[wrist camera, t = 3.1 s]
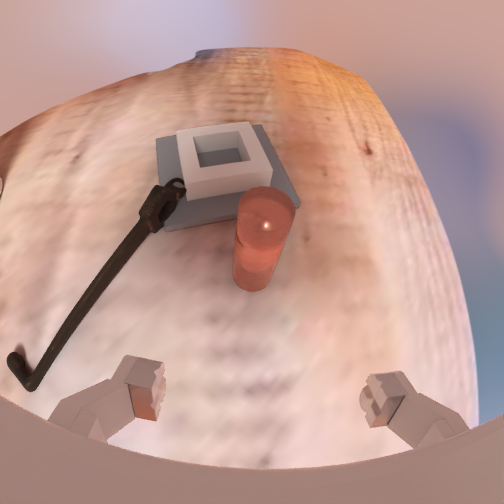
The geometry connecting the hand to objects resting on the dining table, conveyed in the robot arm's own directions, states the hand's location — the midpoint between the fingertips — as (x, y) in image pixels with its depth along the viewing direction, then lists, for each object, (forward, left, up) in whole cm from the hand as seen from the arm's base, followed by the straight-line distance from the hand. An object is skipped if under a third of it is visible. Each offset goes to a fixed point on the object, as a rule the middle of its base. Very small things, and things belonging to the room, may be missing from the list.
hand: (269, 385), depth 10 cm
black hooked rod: (-13, +14, -16) cm, 25 cm away
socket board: (+4, +26, -15) cm, 31 cm away
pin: (+4, +11, -15) cm, 19 cm away
